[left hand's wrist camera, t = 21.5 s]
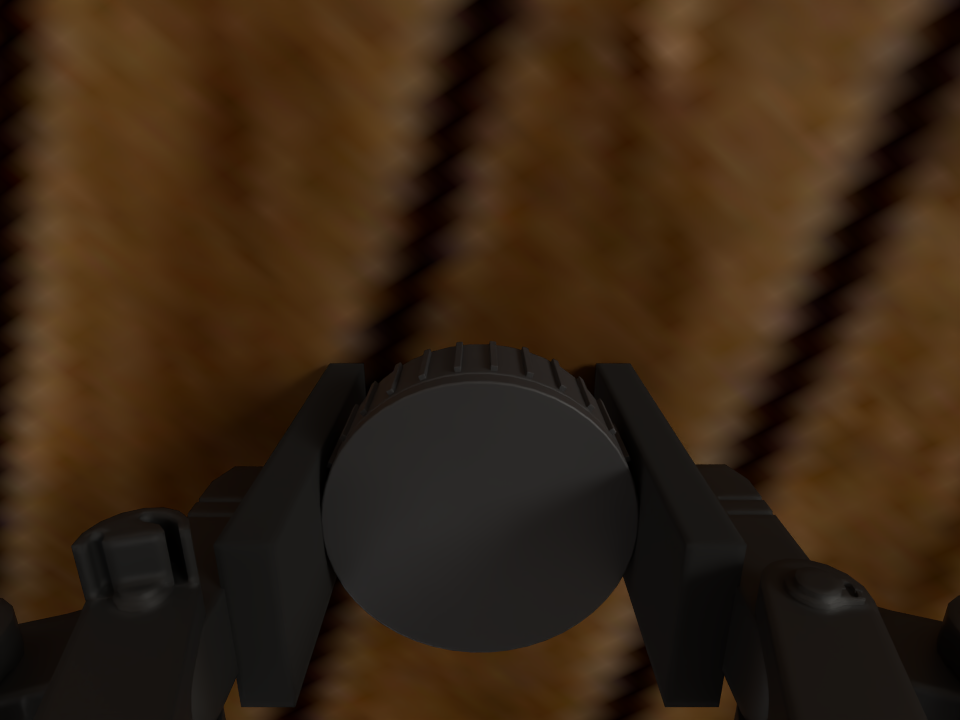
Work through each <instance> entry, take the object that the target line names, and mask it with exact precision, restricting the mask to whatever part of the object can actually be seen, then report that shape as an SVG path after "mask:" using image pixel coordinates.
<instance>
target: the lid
mask: <svg viewBox="0 0 960 720" xmlns="http://www.w3.org/2000/svg"><path fill="white" fill-rule="evenodd" d="M629 461H631V459H630V457H629V454H628V452H627V450H626V448H625V446H624V443H623V441H622V439H621V437H620V435H619V432H618V430H617V428H616V426H615V424H612V421H611V419H610V417H609V415H608V412H607V410H606V408H605V406H604V404H603V402H602V400H601V399H600V398H599V399H598V400H595V398H594V397H593V396H592V394H591V393H590V392H589V391H588V390H587V388H586V385H585V383H584V380H583V379H582V378H581V377H580V376H579V377H578V378H577V379H576V378H575V377H573V376H572V375H571V374H569V373H568V372H567V371H565V370H564V369H563V368H561V367H560V366H559V363H558V361H557V360H555V359H552V361H551V362H550V361H548V360H547V359H545V358H542V357H540V356H537V355H535V354H532V353H529V350H528V348H526V347H522V350H519V349H515V348H511V347H505V346H497V345H496V342H493V341H490V344H489V345H463V342H457V343H456V346H455V347H449V348H445V349H441V350H437V351H433V352H431V350H430V349H428V350H425V351H424V355H423V356H420V357H418V358H415V359H413V360H411V361H409V362H408V363H406V364H404V365H402V364H401V362H400V363H398V364H396V365H395V368H394V371H393V372H392V373H390V374H389V375H388V376H386V377H385V378H384V379H383V380H382V381H381V382H380V383H379V384H378V383H377V382H376V381H375V382H374V383H373V384H372V385H371V387H370V389H369V392H368V394H367V396H366V398H365V399H364V401H363V402H362V403H361V405H360V406H359V405H357V404H355V406H354V408H353V410H352V412H351V414H350V416H349V418H348V421H347V423H346V425H345V427H344V429H343V431H342V433H341V435H340V437H339V440H338V442H337V444H336V446H335V448H334V451H333V453H332V455H331V457H330V459H329V462H328V464H327V468H330V471H329V474H328V477H327V479H326V482H325V486H324V490H323V495H322V500H321V524H322V533H323V541H324V545H325V549H326V553H327V556H328V558H329V561H330V563H331V565H332V568H333V570H334V572H335V574H336V575H337V577H338V579H339V580H340V582H341V584H342V585H343V587H344V588H345V589H346V591H347V592H348V593H349V594H350V596H351V597H352V598H353V599H354V600H355V601H356V602H357V603H358V604H359V605H360V606H361V607H362V608H363V609H364V610H365V611H366V612H367V613H368V614H370V615H371V616H372V617H374V618H375V619H376V620H378V621H379V622H380V623H382V624H383V625H385V626H387V627H388V628H390V629H392V630H393V631H395V632H397V633H399V634H401V635H403V636H405V637H408V638H410V639H412V640H415V641H417V642H420V643H424V644H427V645H430V646H433V647H438V648H443V649H448V650H453V651H463V652H497V651H506V650H512V649H517V648H522V647H527V646H530V645H533V644H536V643H539V642H542V641H545V640H548V639H550V638H552V637H554V636H557V635H559V634H561V633H563V632H565V631H567V630H568V629H570V628H572V627H573V626H575V625H577V624H578V623H580V622H581V621H582V620H584V619H585V618H586V617H588V616H589V615H590V614H592V613H593V612H594V611H595V610H596V609H597V608H598V607H599V606H600V605H601V604H602V603H603V602H604V601H605V600H606V599H607V598H608V597H609V595H610V594H611V593H612V592H613V590H614V589H615V588H616V587H617V585H618V583H619V582H620V580H621V578H622V577H623V575H624V573H625V572H626V570H627V567H628V565H629V563H630V560H631V558H632V555H633V552H634V549H635V545H636V541H637V534H638V524H639V503H638V496H637V492H636V487H635V482H634V480H633V477H632V475H631V472H630V469H629V467H628V464H627V462H629Z"/></svg>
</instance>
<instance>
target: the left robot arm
mask: <svg viewBox="0 0 960 720" xmlns="http://www.w3.org/2000/svg"><path fill="white" fill-rule="evenodd" d="M365 398H366V389H365V375H364V364H350V363H330V364H329V366H328V367H327V369H326V370H325V372H324V374H323V375H322V377H321V378H320V380H319V381H318V383H317V384H316V386H315V388H314V389H313V391H312V392H311V394H310V395H309V397H308V398H307V400H306V401H305V403H304V405H303V406H302V408H301V409H300V411H299V412H298V414H297V415H296V417H295V419H294V420H293V422H292V423H291V425H290V426H289V428H288V429H287V431H286V433H285V434H284V436H283V437H282V439H281V440H280V442H279V443H278V445H277V447H276V448H275V450H274V451H273V453H272V454H271V456H270V457H269V459H268V461H267V462H266V464H265V465H264V467H234V468H232V469H231V470H229V471H228V472H226V473H225V474H223V475H222V476H220V477H218V478H217V479H215V480H214V481H212V483H211V484H210V485H209V487H208V488H207V489H206V491H205V492H204V493H203V495H202V496H201V497H200V498H199V502H196V504H195V505H194V506H193V508H192V509H191V510H190V512H189V513H188V517H186V516H185V515H183V514H182V513H181V512H180V511H177V510H173V509H168V508H164V507H162V508H142V509H138V510H133V511H129V512H124V513H121V514H118V515H116V516H113V517H111V518H108V519H106V520H103V521H101V522H99V523H98V524H96V525H94V526H93V527H91V528H90V529H88V530H87V531H85V532H84V533H82V534H81V535H80V537H79V538H78V539H77V540H76V541H75V542H74V544H73V545H72V546H71V547H72V551H73V555H74V559H75V562H76V566H77V570H78V574H79V577H80V581H81V585H82V589H83V592H84V596H85V600H86V603H85V605H84V607H83V609H82V610H79V611H76V612H72V613H68V614H64V615H59V616H54V617H50V618H45V619H40V620H36V621H31V622H26V623H22V624H18V622H17V619H16V616H15V612H14V609H13V606H12V605H10V604H9V603H8V602H7V601H5V600H4V599H3V598H0V720H226V718H225V713H224V707H223V706H224V704H225V702H226V699H227V697H228V695H229V693H230V690H231V688H232V686H233V684H234V681H235V679H237V684H238V690H239V696H240V702H241V707H295V706H296V703H297V699H298V696H299V693H300V690H301V687H302V684H303V681H304V678H305V674H306V671H307V668H308V665H309V662H310V659H311V656H312V653H313V650H314V646H315V643H316V640H317V637H318V634H319V631H320V628H321V625H322V622H323V618H324V615H325V612H326V609H327V606H328V603H329V600H330V597H331V594H332V590H333V587H334V584H335V581H336V578H337V575H336V574H335V572H334V570H333V568H332V565H331V563H330V561H329V558H328V556H327V553H326V549H325V545H324V541H323V533H322V524H321V500H322V495H323V490H324V486H325V482H326V479H327V477H328V474H329V471H330V468H327V464H328V462H329V459H330V457H331V455H332V453H333V451H334V448H335V446H336V444H337V442H338V440H339V437H340V435H341V433H342V431H343V429H344V427H345V425H346V423H347V421H348V418H349V416H350V414H351V412H352V410H353V408H354V406H355V404H357V405H359V406H360V405H361V403H362V402H363V401H364V399H365ZM594 398H595V400H598V399H599V398H600V399H601V400H602V402H603V404H604V406H605V408H606V410H607V412H608V415H609V417H610V419H611V421H612V424H615V426H616V428H617V430H618V432H619V435H620V437H621V439H622V441H623V443H624V446H625V448H626V450H627V452H628V454H629V457H630V459H631V461H629V462H627V464H628V467H629V469H630V472H631V475H632V477H633V480H634V482H635V487H636V492H637V496H638V503H639V524H638V534H637V541H636V545H635V549H634V552H633V555H632V558H631V560H630V563H629V565H628V567H627V570H626V572H625V573H624V575H623V578H624V581H625V584H626V587H627V590H628V593H629V596H630V599H631V603H632V606H633V609H634V612H635V615H636V618H637V621H638V624H639V627H640V631H641V634H642V637H643V640H644V643H645V646H646V649H647V652H648V655H649V659H650V662H651V665H652V668H653V671H654V674H655V677H656V680H657V683H658V687H659V690H660V693H661V696H662V699H663V702H664V705H665V707H719V703H720V697H721V691H722V685H723V680H724V676H725V678H726V680H727V682H728V685H729V687H730V689H731V691H732V693H733V696H734V698H735V700H736V702H737V707H736V713H735V718H734V720H960V596H957V597H956V598H955V599H954V600H952V601H951V602H950V603H949V604H948V607H947V610H946V613H945V616H944V619H943V622H942V621H938V620H933V619H928V618H923V617H919V616H914V615H909V614H905V613H900V612H895V611H891V610H887V609H884V608H880V607H877V606H876V604H875V601H874V600H873V598H872V597H871V596H870V594H869V593H868V592H867V590H866V589H865V588H864V586H862V585H861V584H860V583H858V582H857V581H856V580H854V579H853V578H852V577H850V576H849V575H848V574H846V573H843V572H841V571H839V570H837V569H835V568H833V567H831V566H828V565H826V564H822V563H818V562H814V561H810V560H809V558H808V557H807V556H806V554H805V553H804V552H803V550H802V549H801V548H800V547H799V545H798V544H797V543H796V541H795V540H794V539H793V537H792V536H791V535H790V534H789V532H788V531H787V530H786V528H785V527H784V526H783V524H782V523H781V522H780V520H779V519H778V518H777V517H776V515H773V514H772V510H771V509H770V507H769V506H768V505H767V504H766V502H765V501H764V500H761V496H760V494H759V493H758V492H757V490H756V489H755V488H754V487H753V485H752V484H751V483H750V481H749V480H748V479H747V478H745V477H744V476H742V475H740V474H739V473H737V472H736V471H734V470H733V469H731V468H730V467H728V466H727V465H695V464H694V462H693V460H692V459H691V457H690V456H689V454H688V453H687V451H686V450H685V448H684V446H683V445H682V443H681V442H680V440H679V439H678V437H677V436H676V434H675V432H674V431H673V429H672V428H671V426H670V425H669V423H668V422H667V420H666V419H665V417H664V415H663V414H662V412H661V411H660V409H659V408H658V406H657V405H656V403H655V401H654V400H653V398H652V397H651V395H650V394H649V392H648V391H647V389H646V387H645V386H644V384H643V383H642V381H641V380H640V378H639V377H638V375H637V373H636V372H635V370H634V369H633V367H632V366H631V364H596V375H595V390H594Z"/></svg>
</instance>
